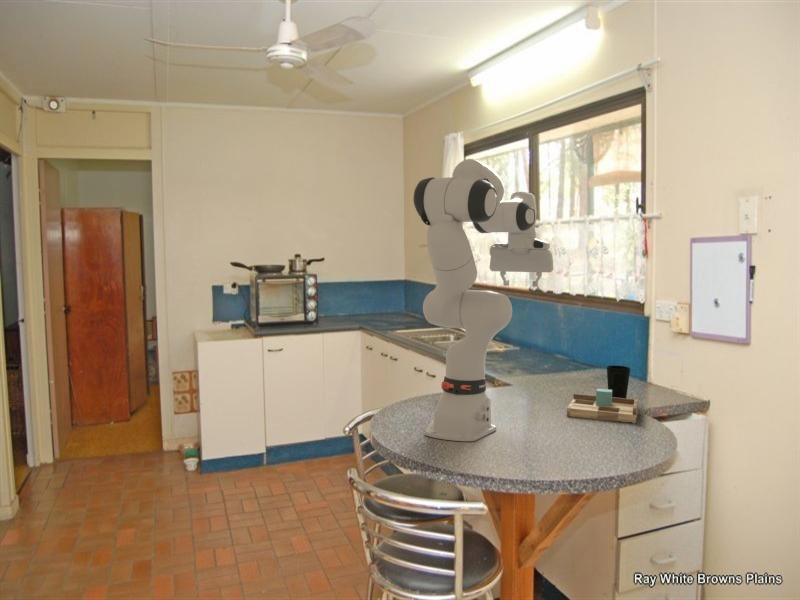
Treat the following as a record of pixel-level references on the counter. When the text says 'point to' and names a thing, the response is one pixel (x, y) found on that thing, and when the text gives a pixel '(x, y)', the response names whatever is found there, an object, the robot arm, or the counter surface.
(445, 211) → the robot arm
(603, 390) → the block
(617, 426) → the counter surface
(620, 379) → the cup
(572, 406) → the wooden tray
